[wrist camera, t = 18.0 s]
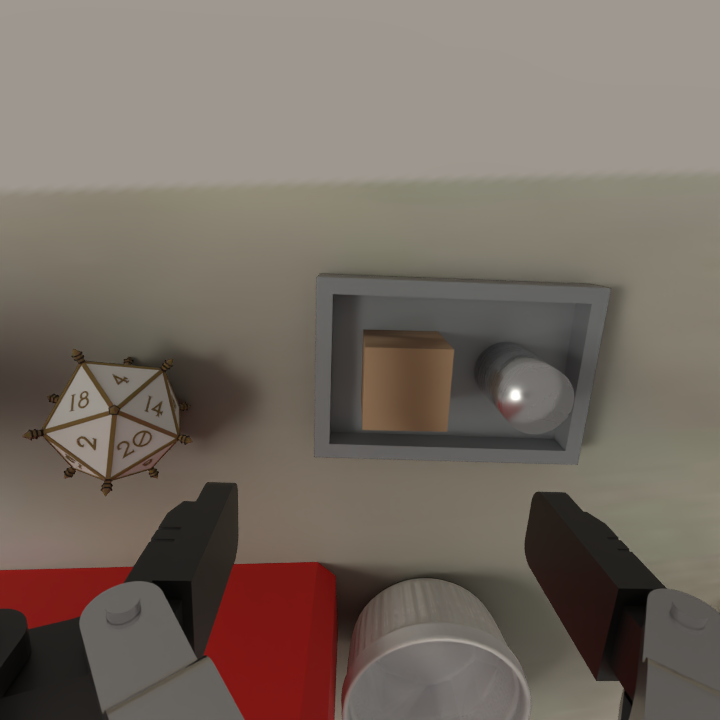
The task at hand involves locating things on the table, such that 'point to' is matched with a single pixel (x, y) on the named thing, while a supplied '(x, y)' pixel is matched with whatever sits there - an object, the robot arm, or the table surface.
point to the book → (227, 629)
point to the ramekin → (431, 659)
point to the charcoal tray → (454, 361)
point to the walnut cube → (405, 380)
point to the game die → (114, 419)
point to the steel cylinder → (524, 388)
